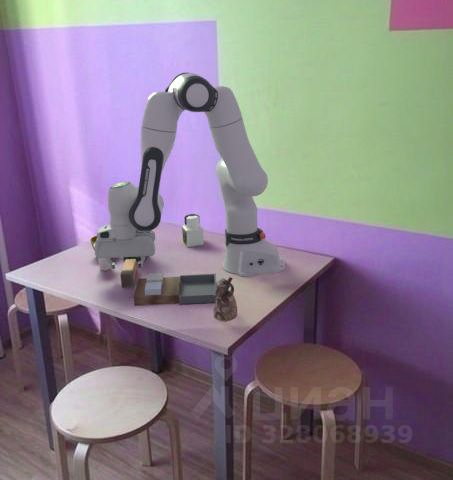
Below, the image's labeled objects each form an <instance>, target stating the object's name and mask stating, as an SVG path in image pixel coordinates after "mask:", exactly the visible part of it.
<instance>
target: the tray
mask: <svg viewBox="0 0 453 480" xmlns="http://www.w3.org/2000/svg"><path fill="white" fill-rule="evenodd" d="M179 277H180V282H181V284H180V296H179V304H178V306H188V305H191V306H192V305H194V306H195V305H207V304H208V305H210V304H214V305H215V299H216V296H215V295H214V293H215V292H216V288H217V273H203V274H202V273H199V274H182V275H181V274H179Z"/></svg>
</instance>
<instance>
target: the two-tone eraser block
mask: <svg viewBox="0 0 453 480" xmlns="http://www.w3.org/2000/svg"><path fill="white" fill-rule="evenodd" d="M137 269H138V266H137V260H136V259H125V261H124V264H123V267H122V270H121V272H120V284H121V289H123V288H133V287H134V283H135V279H136V274H137V272H138V271H137ZM136 271H137V272H136Z"/></svg>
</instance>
